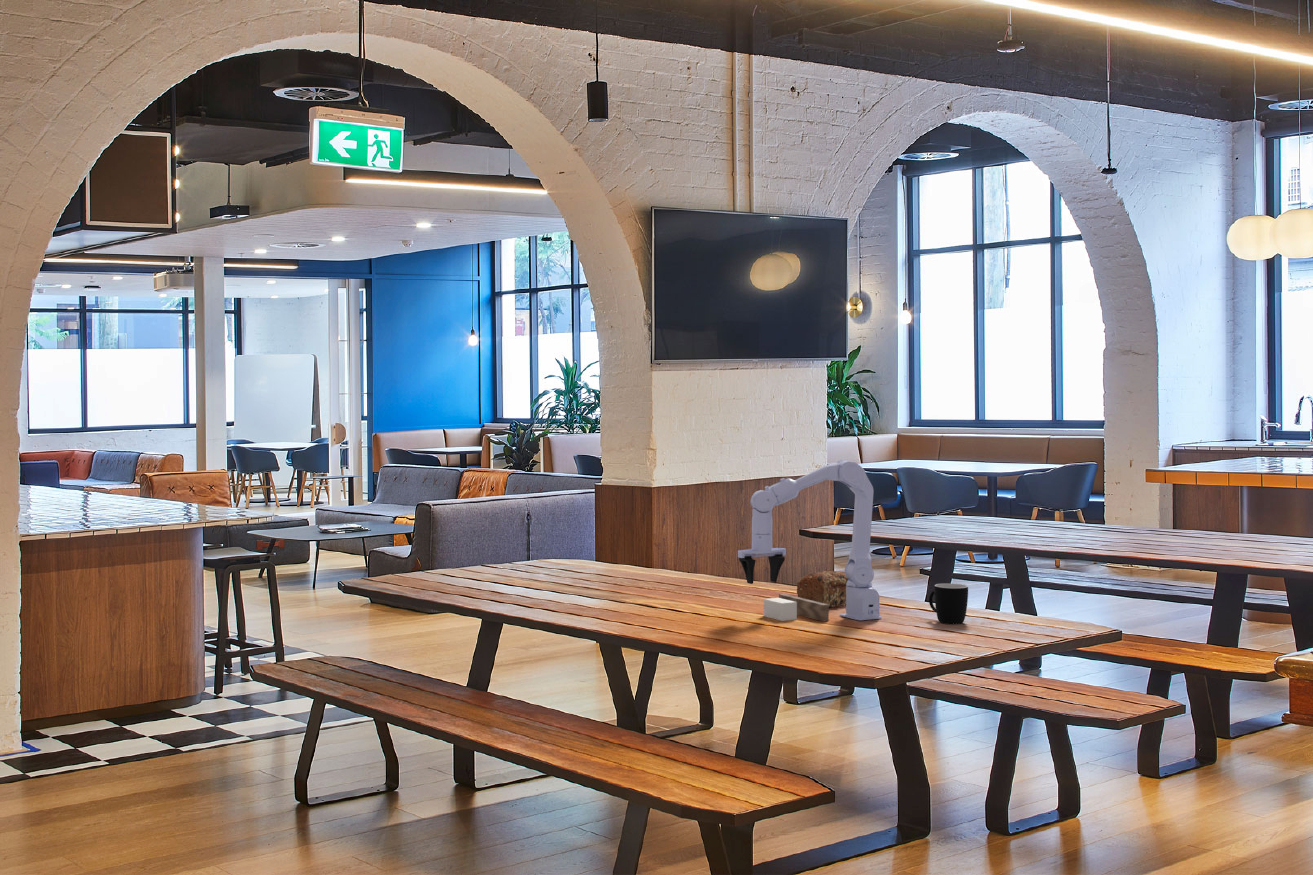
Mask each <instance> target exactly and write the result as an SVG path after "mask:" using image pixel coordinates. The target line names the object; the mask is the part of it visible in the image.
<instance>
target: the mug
mask: <svg viewBox="0 0 1313 875" xmlns="http://www.w3.org/2000/svg"><path fill="white" fill-rule="evenodd" d="M933 597H934V603H933ZM968 599H969V586H968V585H966V584H961V583H936V584H934V590H933V591H931V593H930V594H929V599H928V604H929V607H930V608H931V610H932V611H933V612H934V613H936V618H937V621H938V622H939V623H940V624H943V625H961V624H963V623H964V621H965V619H966V616H967V608H968Z"/></svg>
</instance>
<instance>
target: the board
mask: <svg viewBox="0 0 1313 875" xmlns="http://www.w3.org/2000/svg"><path fill="white" fill-rule="evenodd" d="M778 598H782V599H786V600H790V601H794V602H797V616H801V617H806V618H809V619H812V620H816V621H820V622H829V620H830V619H829V618H830V617H829V616H830V615H829V613H830V612H829V610H830V609H829V608H830V607H829V604H824V603H820V602H816V601H812V600H808V599H804V598H800V597H798V596H795V595H791V594H787V593H779V594H778Z"/></svg>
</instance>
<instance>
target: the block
mask: <svg viewBox="0 0 1313 875" xmlns="http://www.w3.org/2000/svg"><path fill="white" fill-rule="evenodd" d="M763 617H766V618H769V619H773V620H777V621H781V622H782V621H784V622H785V621H793V620H797V619H798V615H797V602H794V601H790V600H786V599H782V598H779V597H772V598H764V599H763Z"/></svg>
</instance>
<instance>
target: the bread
mask: <svg viewBox="0 0 1313 875" xmlns="http://www.w3.org/2000/svg"><path fill="white" fill-rule="evenodd" d="M848 580H849V579H848V578H847V577H846V575H845V571H841V570H840V571H836V570H824V571H818V572H814V573H807V574H806V575H804V576H802V578H799V579H798V582H797V584H796V585H797V587H796V588H797V589H796V595H797V597H800V598H804V599H808V600H812V601H816V602H820V603H824V604H829V608H835V607H840V605H842V606H845V605H844V604H846V583H847V582H848Z"/></svg>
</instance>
